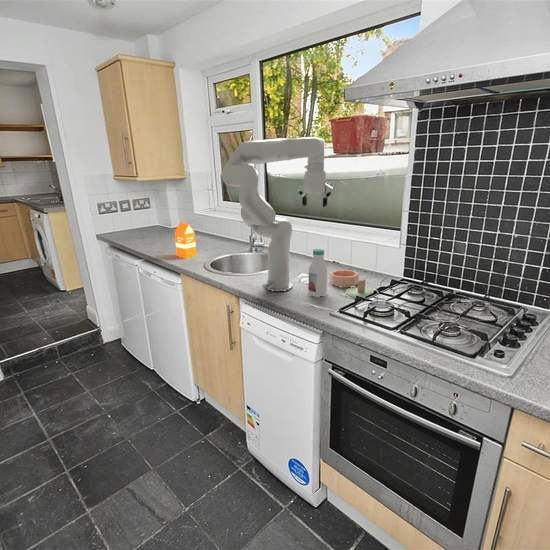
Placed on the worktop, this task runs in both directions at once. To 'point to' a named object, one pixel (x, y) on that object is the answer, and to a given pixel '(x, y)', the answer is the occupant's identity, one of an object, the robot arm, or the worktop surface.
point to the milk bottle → (317, 274)
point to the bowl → (344, 278)
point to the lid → (359, 290)
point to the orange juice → (185, 241)
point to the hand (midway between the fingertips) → (314, 206)
